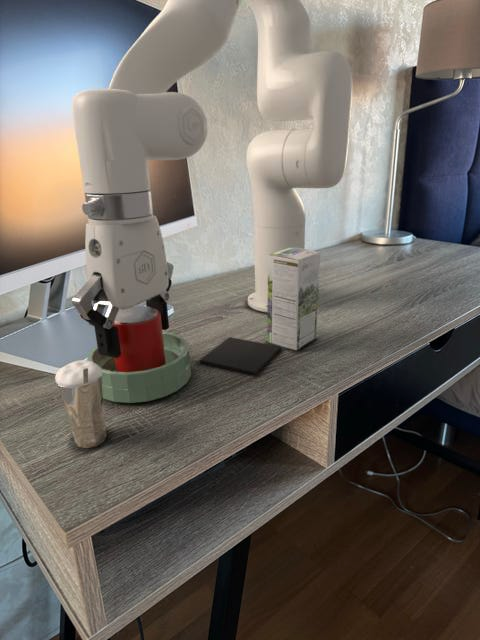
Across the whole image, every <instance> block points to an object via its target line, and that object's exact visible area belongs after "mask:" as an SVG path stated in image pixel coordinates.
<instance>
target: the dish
mask: <svg viewBox="0 0 480 640" xmlns="http://www.w3.org/2000/svg"><path fill="white" fill-rule="evenodd" d="M162 332H163V342H164V351H165V360H166V364H165V365H163V366H160V367H157V368H153V369H149V370H145V371H136V372H116V366H115V359H114V358H113V357H109V356H105V355H101V354H99V352H98V347H97V345H95V346H94V347H93V348H92V349H91V350H89V352H88V355H87V357H86V361H91V362H94V363H96V364H97V365H98V366H99V367H100V368H101V370H102V384H103V399H104V400H107V401H110V402H113V403H126V404H135V403H144V402H151V401H154V400H159V399H162V398H164V397H167V396H170V395H171V394H173V393H175V392H177V391H179V390H181V389H182V388H183V387H184V386H185V385H187V384H188V382H189V380H190V378H191V376H192V366H191V355H190V345H189V341H188V340H186V338H184V337H183V336H181V335H179V334H176V333H174V332H168V331H164V330H162Z"/></svg>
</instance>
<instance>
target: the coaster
mask: <svg viewBox="0 0 480 640" xmlns="http://www.w3.org/2000/svg"><path fill="white" fill-rule="evenodd" d="M281 348H282V346H279V345H275V344H270V343H264V342H259V341H258V342H257V341H253V340H246V339H242V338H236V337H228V338H227V339H225V340H224V341H223V342H222V343H220V344H219V345H218V346H216V347H215V348H214V349H212V350H211V351H210V352H208V353H207V354H206V355H205V356H204V357H202V358H201V359H200V360H199V363H200V364H203V365H207V366H214V367H217V368H222V369H226V370H229V371H230V370H231V371H235V372H240V373H244V374H249V375H254V376H256V375H257V374H258V373H259V372H260V371H261V370H262V369H263V368H264V367H265V366H266V365H267V364H268V363H269V362H270V361H271V360H272V359H273V358H274V357H275V356H276V355H277V354H278V353H279V352H280V351H281Z"/></svg>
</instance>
